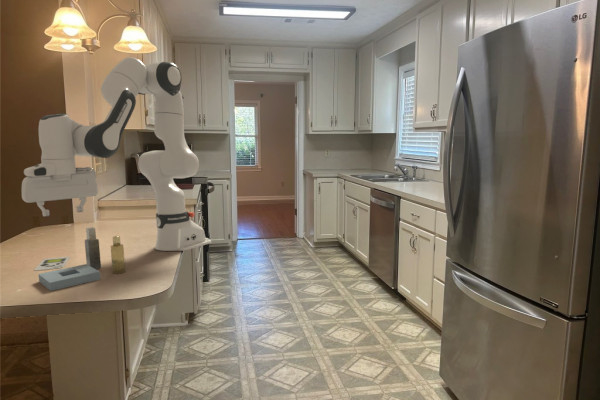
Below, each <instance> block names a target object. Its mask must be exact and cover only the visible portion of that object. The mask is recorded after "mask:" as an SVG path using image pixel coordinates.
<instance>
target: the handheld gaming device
mask: <svg viewBox="0 0 600 400" xmlns="http://www.w3.org/2000/svg"><path fill="white" fill-rule="evenodd" d="M70 257H71V256H62V257H54V258H53V257H49V258H43V259H42V260H41V261H40V263H39V264H38V265H37V266H36V267H35V268H34V272H37V271H49V270H60V269H64V268H65V266H66V265H67V263H68V261H69V260H70Z"/></svg>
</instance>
